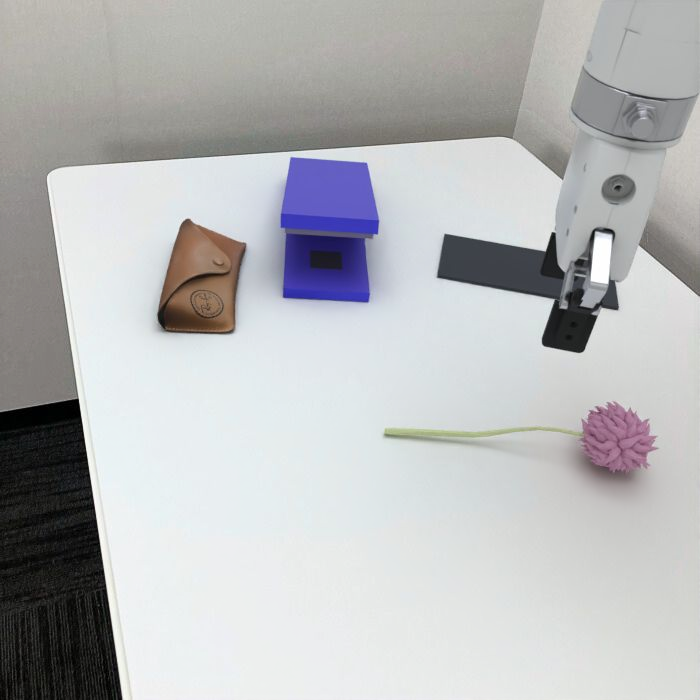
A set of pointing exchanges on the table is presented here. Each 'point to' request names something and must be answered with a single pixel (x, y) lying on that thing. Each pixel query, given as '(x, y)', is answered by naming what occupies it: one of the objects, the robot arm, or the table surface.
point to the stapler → (327, 229)
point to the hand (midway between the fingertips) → (559, 310)
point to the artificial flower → (586, 437)
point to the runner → (505, 268)
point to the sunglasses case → (201, 282)
